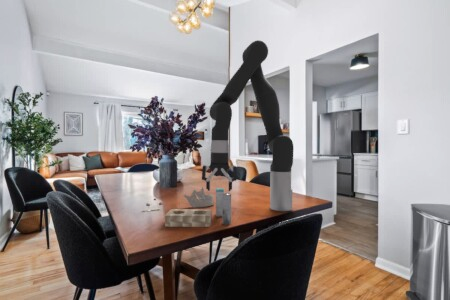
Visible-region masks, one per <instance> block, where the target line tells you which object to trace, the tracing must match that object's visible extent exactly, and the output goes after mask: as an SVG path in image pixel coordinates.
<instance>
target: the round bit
mask: <svg viewBox="0 0 450 300" xmlns="http://www.w3.org/2000/svg"><path fill="white" fill-rule="evenodd" d="M222 196H223V216H222V225H224V226H225V225H228V226H229V225H232V193H230V192H224V193H223V194H222Z"/></svg>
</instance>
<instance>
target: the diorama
mask: <svg viewBox="0 0 450 300" xmlns="http://www.w3.org/2000/svg"><path fill="white" fill-rule="evenodd" d="M153 201H157V198H153ZM145 206H146V207H147V208H148V210H147V212H152V211H155V209H149V208H150V206H151V203H149V202H147V203H146V204H145ZM158 206H160V208H161V206H163V202H158ZM160 208H159V207H158V208H157V210H160Z"/></svg>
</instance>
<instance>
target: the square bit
mask: <svg viewBox="0 0 450 300" xmlns="http://www.w3.org/2000/svg"><path fill="white" fill-rule="evenodd" d="M223 193H225V187H216V188H215V217H223V196H222V194H223Z"/></svg>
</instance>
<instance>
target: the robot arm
mask: <svg viewBox="0 0 450 300" xmlns="http://www.w3.org/2000/svg"><path fill="white" fill-rule="evenodd" d="M268 55H269V47H268V46H267V44H266V43H265V42H264V41H262V40H255V41H252V42H251V43H250V44H249V45H248V46H247V47H246V48H245V49H244V51H243V52H242V57H241V58H242V64H241V65H240V66H239V68H238V69H237V70H236V72H235V73H234V74H233V75H232V77H231V78H230V80H229V81H228V83H227V84H226V85H225V87H224V88H223V90H222V93H221V94H220V95H219V96H218V97H217V98H216V99H215V101H214V102H213V103H212V105H211V106H210V109H209V117H210V118H211V119H212V120H213V121H215V123H214V125H213V127H211V128H212V129H211V136H210V137H211V143H210V162H209V163H210V164H209V165H207V164H204V165H203V166H202V171H201V180H202V181H205V182H206V183H205V184H206V186H205V188H206V190H207V192H210V191H211V181H210V180H211V179H212V178H213V176H215V177H225V178H226V179H227V180H228V192H231V191H232V189H233V182H236V181H237V166H236V165H233V166H232V165H231V166H230V164H229V163H230V162H229V159H230V158H229V157H230V156H229V155H230V153H229V152H230V144H229V135H230V134H229V129H230V127H231V121H232V119H233V118H232V117H233V112H232V111H233V110H232V107H231V106H232V105H234V104H235V103H237V101H238V100H239V98H240V96H241V95H242V94H243V91H244V90H245V88H246V86H247V84H248V83H249V81H250V83H251V87H252V90H253V93H254V97H255V101H256V105H257V109H258V111H259V113H260V114H259V115H260V117H261V120H262V123H263V126H264V129H265V130H264V131H265V133H266V134H265V135H266V139H267V145H268V149H269V151H270V153H272V159H271V160H272V162H271V163H270V165H269V167H270V168H269V169H270V170H269V171H270V172H269V175H270V178H269V180H270V181H269V183H270V185H269V187H270V188H269V190H270V191H269V192H270V195H269V197H270V198H269V199H270V200H269V201H270V202H269V208H270V210H272V211H275V212H289V211H293V188H292V167H293V164H294V143H293V140H292V139H291V137H290V136H287V135H285V134H284V133H283V130H282V127H281V120H280V119H281V118H280V110H281V109H280V103H279V99H278V96H277V92H276V90H275V88H274V87H273V85H272V84H271V83H270V82H269V80H268V79H267V78H266V77H265V74H264V72H263V71H264V70H263V68H262V63H263V62H264V61H265V60H266V59H267V57H268ZM208 170H210V174H209V175H208V177H207V174H206V173H207V171H208ZM229 171H231V172H233V177H231V176H230V175H229V173H228V172H229Z"/></svg>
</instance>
